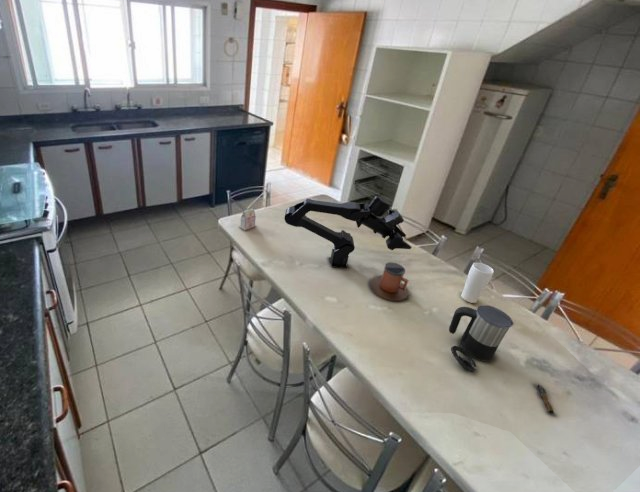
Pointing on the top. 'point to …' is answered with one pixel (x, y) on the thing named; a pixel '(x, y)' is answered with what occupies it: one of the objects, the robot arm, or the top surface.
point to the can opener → (545, 399)
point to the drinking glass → (476, 282)
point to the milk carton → (248, 219)
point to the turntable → (384, 294)
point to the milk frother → (479, 333)
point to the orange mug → (393, 278)
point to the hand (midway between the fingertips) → (408, 241)
